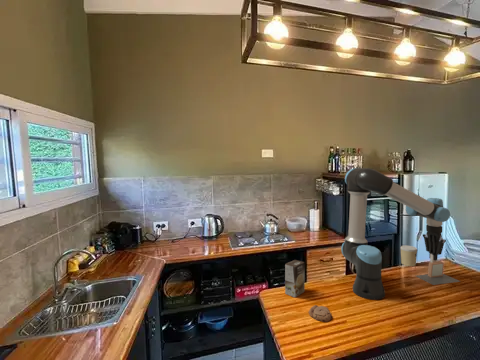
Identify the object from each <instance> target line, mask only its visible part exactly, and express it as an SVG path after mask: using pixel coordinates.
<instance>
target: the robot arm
mask: <svg viewBox="0 0 480 360" xmlns="http://www.w3.org/2000/svg"><path fill="white" fill-rule="evenodd" d="M344 182H345V184H346V185H347V192H348V194H350V195H349V196H350V197H349V215H348V216H349V217H348V231H347V236H346V237H345V238H344V242H343V243H342V245H341V254H342V256H343V257H344V258H345V260H347V261H349V262H350V263H351V264H352V265H354V266H355V267H356V276H355V279H354V282H353V284H352V292H353V293H354V294H355V295H356V296H358V297H360V298H363V299H367V300H377V301H378V300H382V299H384V298H385V296H386V290H385V288H384V287H385V286H384V285H383V281H382V263H383V262H382V261H383V257H382V252H381V250H380V249H378V248H377V247H376V246H372V245H368V240H367V239H366V237H365V236H366V224H367V223H366V222H367V221H366V219H367V203H368V195H370V194H371V192H373V193H377V194H379V195H381V196H387V197H388V198H391V199H392V200H394V201H396V202H398V203H400V204H401V205H403V206H405V211H406V214H407V215H408V216H411V217H416V216H417V217H422V218H425V220H426V221H425V223H426V225H425V226H426V227H425V228H426V229H425V231H426V233H425V234H424V233H423V234H422V236H423V239H424V245H425V246H424V247H425V251H426V252H428V255H429V263H430V262H437V261H438V258H439V257H438V256H439V255H442V253H443V250H444V245H445V243H446V242H447V239H445V238H444V237H442V236H443V234H442V233H443V223H445V222H447V221H448V220H449V219H450V217H451V212H450V210H449V209H448V208H447V207H444V200H443V199H442V198H439V197H438V198H437V197H429V198H428V197H427V199H426V198H424V197H422V196H420V195H418V194H417V193H415V192H412V191H410V190H409V189H407V188H405V187H404V186H401V185H400V184H398V183H396V182H394V180H393V179H392V178H391V177H389V176H387V175H385V174H383V173H382V172H380V171H378V170H376V169H373V168H369V167H368V168H367V167H354V168H352V169H350V170H348V171H347V172H346V174H345V176H344Z"/></svg>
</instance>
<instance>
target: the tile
mask: <svg viewBox="0 0 480 360" xmlns="http://www.w3.org/2000/svg"><path fill="white" fill-rule="evenodd" d="M444 264H445V263H444V262H443V261H436V262H430V261H429V262H428V267H427V268H428V269H427V274H428V276H429V277H438V276H443V274H444Z"/></svg>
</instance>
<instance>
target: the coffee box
mask: <svg viewBox="0 0 480 360" xmlns="http://www.w3.org/2000/svg"><path fill="white" fill-rule="evenodd" d="M284 267H285V269H284V271H285V272H284V275H285V276H284V281H285V282H284V283H285V285H284V287H285V288H284V293H285V295H287V296H290V297H292V298H297V297H298V296H300V295H301V294H303V293H305V288H306V287H305V284H306V282H305V281H306V280H305V279H306V277H305V276H306V275H305V274H306V273H305V269H306V268H305V267H306V266H305V261H301V260H297V259H294V260H292V261H291V260H290V261H289V262H286V263H285V265H284Z"/></svg>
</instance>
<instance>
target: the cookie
mask: <svg viewBox="0 0 480 360" xmlns="http://www.w3.org/2000/svg"><path fill="white" fill-rule="evenodd" d="M308 314H309V316H310V317H311V318H313V319H314V320H315V321H319V322H321V323H327V322H329V321H331V320H332V317H333V316H332V313H331V311H330V310H329V308H328V307H327V306H323V305H316V304H315V305H313V306H311V307H310V309H309V310H308Z"/></svg>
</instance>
